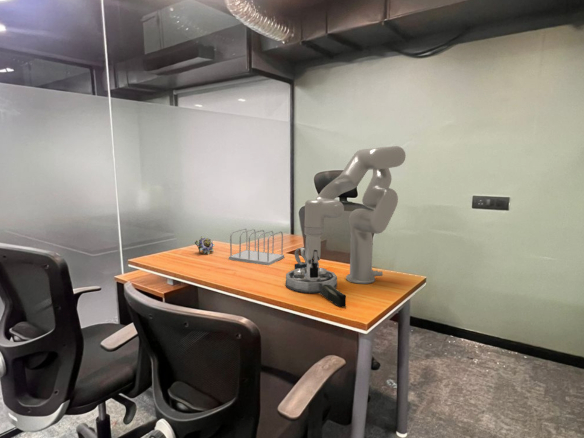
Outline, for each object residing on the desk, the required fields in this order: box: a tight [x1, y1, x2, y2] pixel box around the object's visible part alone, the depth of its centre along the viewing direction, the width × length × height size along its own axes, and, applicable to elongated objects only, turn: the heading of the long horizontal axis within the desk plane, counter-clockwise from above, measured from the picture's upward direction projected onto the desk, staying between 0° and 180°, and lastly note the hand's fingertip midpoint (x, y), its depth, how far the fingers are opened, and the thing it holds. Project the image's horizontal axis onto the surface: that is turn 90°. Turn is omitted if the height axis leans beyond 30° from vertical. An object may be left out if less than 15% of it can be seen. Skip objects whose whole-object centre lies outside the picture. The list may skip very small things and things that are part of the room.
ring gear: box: [285, 268, 338, 291], centre depth 146 cm, size 21×21×3 cm
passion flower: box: [194, 236, 216, 255], centre depth 202 cm, size 11×11×12 cm
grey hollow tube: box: [305, 261, 320, 282], centre depth 140 cm, size 6×6×8 cm
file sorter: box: [228, 228, 285, 266], centre depth 189 cm, size 25×17×16 cm
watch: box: [294, 247, 308, 269], centre depth 168 cm, size 6×8×11 cm
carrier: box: [285, 267, 338, 295], centre depth 146 cm, size 22×22×6 cm
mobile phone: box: [319, 284, 347, 308], centre depth 129 cm, size 5×3×15 cm
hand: (312, 275), depth 140 cm, fingers closed on grey hollow tube, 4 cm apart
